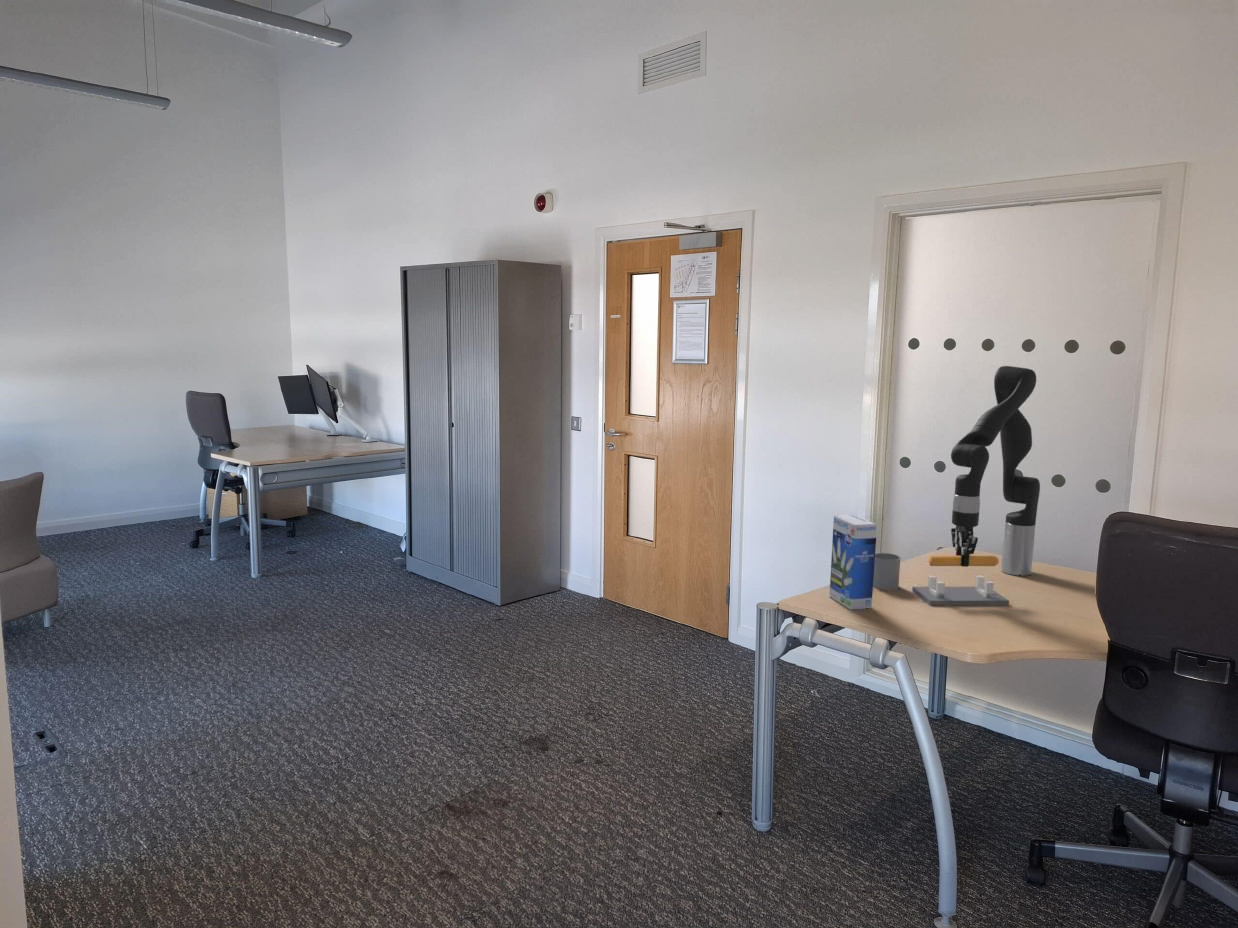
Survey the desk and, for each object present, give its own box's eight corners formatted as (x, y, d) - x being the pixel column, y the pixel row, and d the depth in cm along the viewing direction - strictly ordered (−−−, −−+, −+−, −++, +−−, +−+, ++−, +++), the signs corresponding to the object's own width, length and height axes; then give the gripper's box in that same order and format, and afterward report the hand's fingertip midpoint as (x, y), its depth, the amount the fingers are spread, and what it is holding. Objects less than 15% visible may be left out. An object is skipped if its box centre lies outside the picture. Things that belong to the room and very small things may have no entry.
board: (912, 591, 263) (913, 572, 262) (987, 591, 263) (988, 572, 263) (929, 605, 249) (931, 586, 248) (1008, 605, 250) (1010, 586, 249)
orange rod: (932, 567, 253) (933, 557, 252) (928, 564, 256) (929, 554, 255) (1000, 567, 253) (1001, 557, 253) (995, 564, 256) (996, 554, 256)
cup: (889, 592, 262) (891, 561, 260) (866, 586, 268) (867, 556, 266) (903, 586, 267) (905, 556, 266) (880, 581, 273) (882, 551, 272)
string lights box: (828, 596, 257) (832, 515, 253) (850, 594, 259) (854, 513, 255) (850, 610, 244) (855, 524, 240) (873, 608, 246) (878, 523, 242)
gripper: (989, 514, 245) (984, 571, 248) (967, 504, 259) (963, 558, 262) (963, 514, 245) (959, 571, 247) (944, 504, 259) (940, 558, 261)
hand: (961, 564), depth 254 cm, fingers closed on orange rod, 3 cm apart
